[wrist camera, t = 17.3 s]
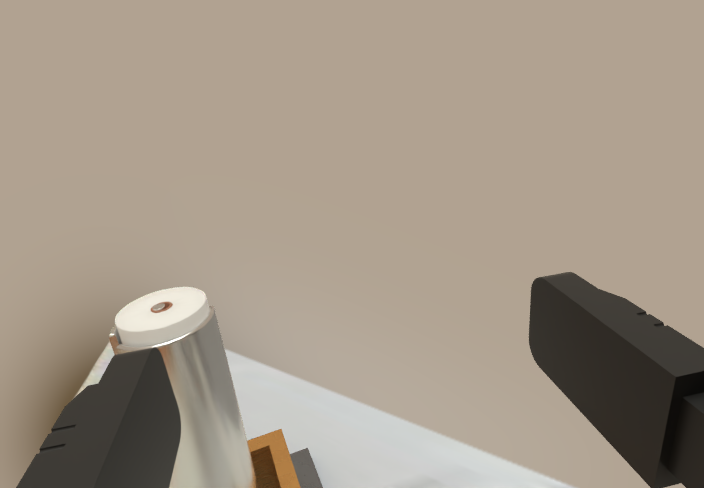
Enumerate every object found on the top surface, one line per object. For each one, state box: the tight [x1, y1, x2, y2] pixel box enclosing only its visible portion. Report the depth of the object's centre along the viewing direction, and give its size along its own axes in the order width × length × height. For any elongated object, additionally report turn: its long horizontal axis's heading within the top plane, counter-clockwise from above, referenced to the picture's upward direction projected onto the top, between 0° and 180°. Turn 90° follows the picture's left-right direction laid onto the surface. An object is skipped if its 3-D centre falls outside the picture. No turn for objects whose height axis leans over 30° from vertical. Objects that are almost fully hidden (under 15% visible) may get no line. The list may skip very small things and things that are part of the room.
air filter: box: [109, 287, 259, 488], centre depth 33 cm, size 6×6×25 cm
